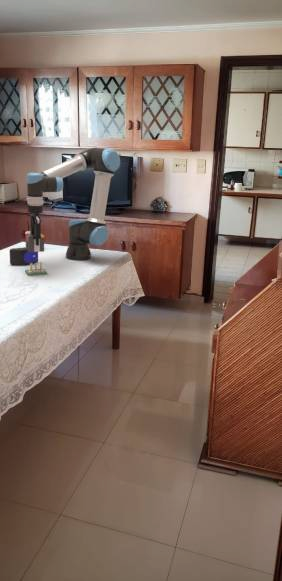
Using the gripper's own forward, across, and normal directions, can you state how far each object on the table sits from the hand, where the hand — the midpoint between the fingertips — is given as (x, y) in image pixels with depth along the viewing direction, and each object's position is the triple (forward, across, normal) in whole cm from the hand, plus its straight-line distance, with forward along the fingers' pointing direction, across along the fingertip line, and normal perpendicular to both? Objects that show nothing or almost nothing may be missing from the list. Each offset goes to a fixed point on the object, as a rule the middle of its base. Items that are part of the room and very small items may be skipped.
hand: (35, 249), depth 233 cm
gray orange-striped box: (0, 0, 0) cm, 0 cm away
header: (+13, 0, 0) cm, 13 cm away
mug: (+13, -53, +12) cm, 56 cm away
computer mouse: (+13, -20, -2) cm, 24 cm away
